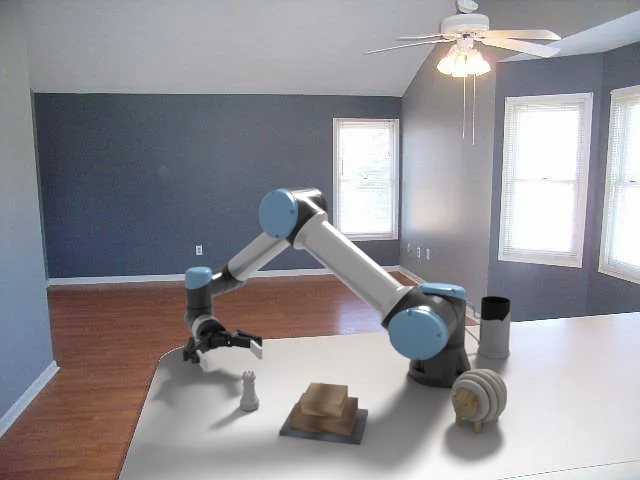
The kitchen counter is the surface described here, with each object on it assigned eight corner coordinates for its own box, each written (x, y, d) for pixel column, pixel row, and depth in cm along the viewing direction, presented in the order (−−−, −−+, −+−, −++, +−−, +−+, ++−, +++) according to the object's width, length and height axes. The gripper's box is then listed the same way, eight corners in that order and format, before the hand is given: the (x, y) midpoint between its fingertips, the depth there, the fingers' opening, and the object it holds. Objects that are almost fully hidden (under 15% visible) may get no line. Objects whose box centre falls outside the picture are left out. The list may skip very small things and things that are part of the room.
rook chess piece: (256, 412, 111) (254, 378, 109) (236, 411, 111) (235, 376, 110) (262, 403, 115) (261, 369, 114) (243, 401, 116) (242, 368, 114)
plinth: (368, 413, 109) (368, 382, 108) (359, 444, 98) (359, 410, 97) (295, 406, 113) (295, 376, 112) (279, 435, 101) (278, 402, 100)
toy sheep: (435, 429, 103) (436, 377, 101) (473, 398, 115) (474, 352, 113) (486, 448, 96) (488, 393, 94) (520, 414, 108) (522, 364, 107)
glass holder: (510, 359, 137) (513, 305, 134) (455, 354, 141) (457, 301, 139) (509, 348, 145) (512, 296, 142) (458, 342, 149) (459, 293, 147)
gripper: (253, 337, 145) (282, 364, 127) (163, 353, 134) (181, 385, 116) (252, 312, 144) (282, 335, 126) (161, 326, 133) (179, 354, 114)
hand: (233, 359), depth 121 cm, fingers open, 13 cm apart
